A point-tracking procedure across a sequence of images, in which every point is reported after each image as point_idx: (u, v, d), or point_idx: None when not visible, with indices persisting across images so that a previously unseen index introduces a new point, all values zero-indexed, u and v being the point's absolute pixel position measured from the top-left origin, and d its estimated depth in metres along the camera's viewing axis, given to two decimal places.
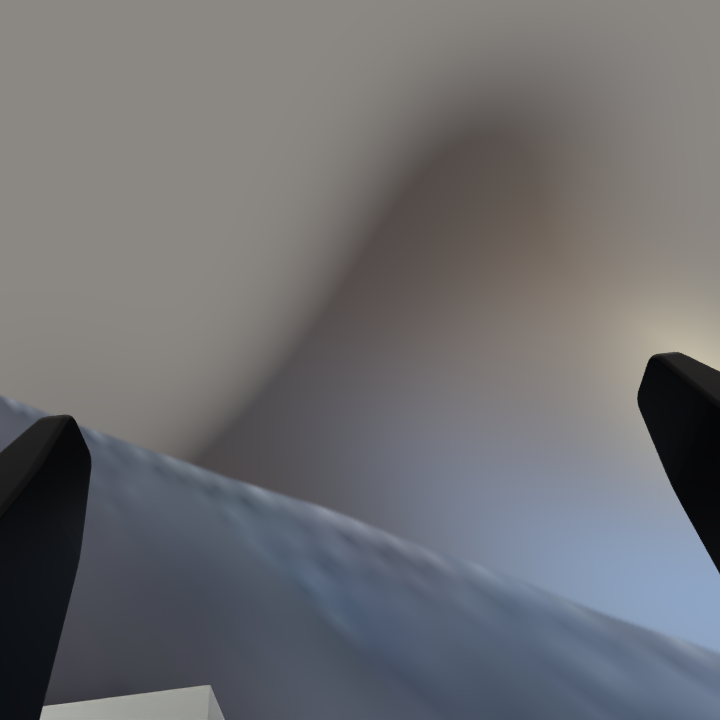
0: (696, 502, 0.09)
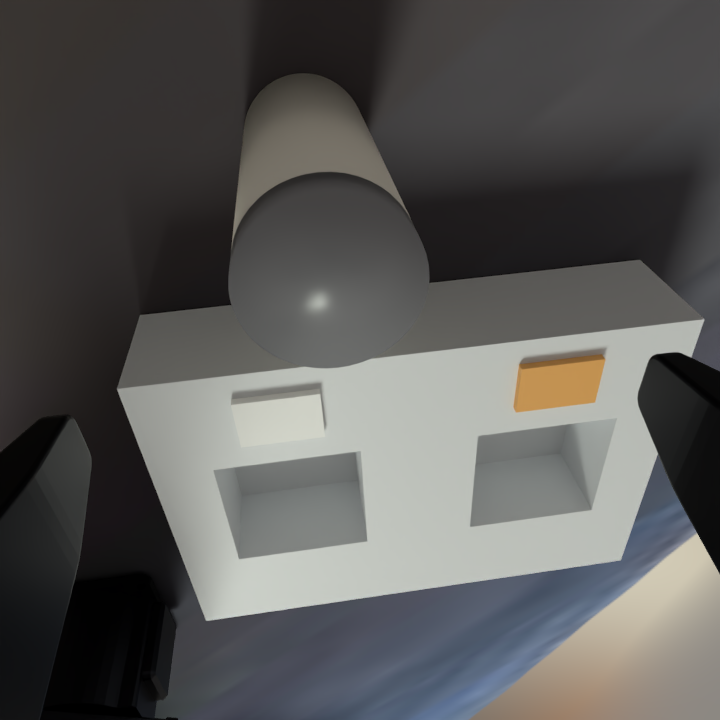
0: (696, 502, 0.09)
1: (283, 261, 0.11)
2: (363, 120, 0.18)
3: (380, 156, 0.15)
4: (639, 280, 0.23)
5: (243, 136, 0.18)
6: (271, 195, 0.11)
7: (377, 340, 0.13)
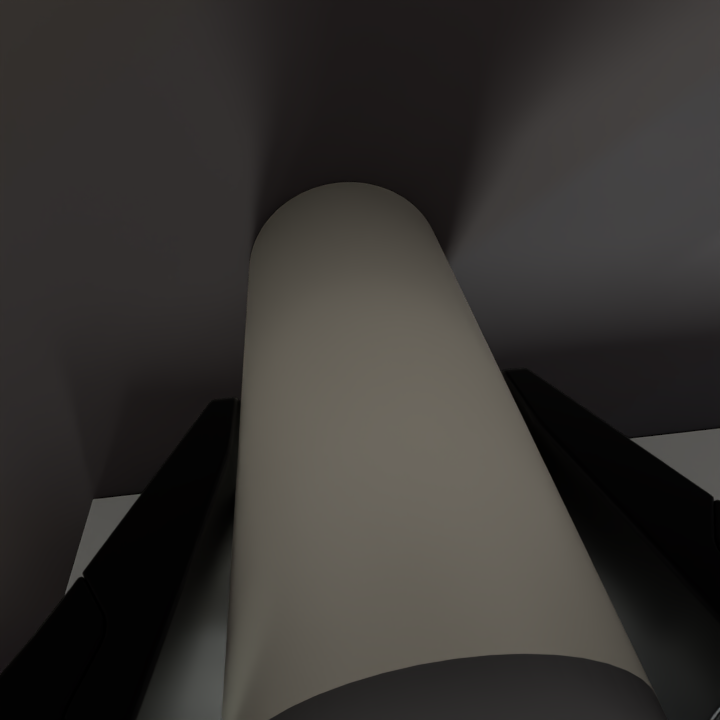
0: None
1: None
2: None
3: None
4: None
5: (249, 297, 0.11)
6: None
7: None
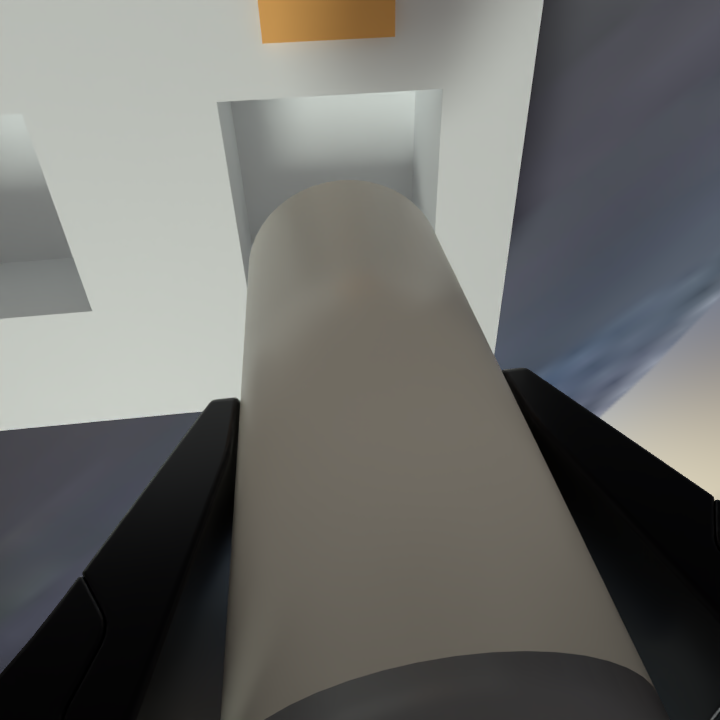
0: None
1: None
2: (455, 275, 0.10)
3: (516, 402, 0.08)
4: None
5: (248, 295, 0.11)
6: None
7: None
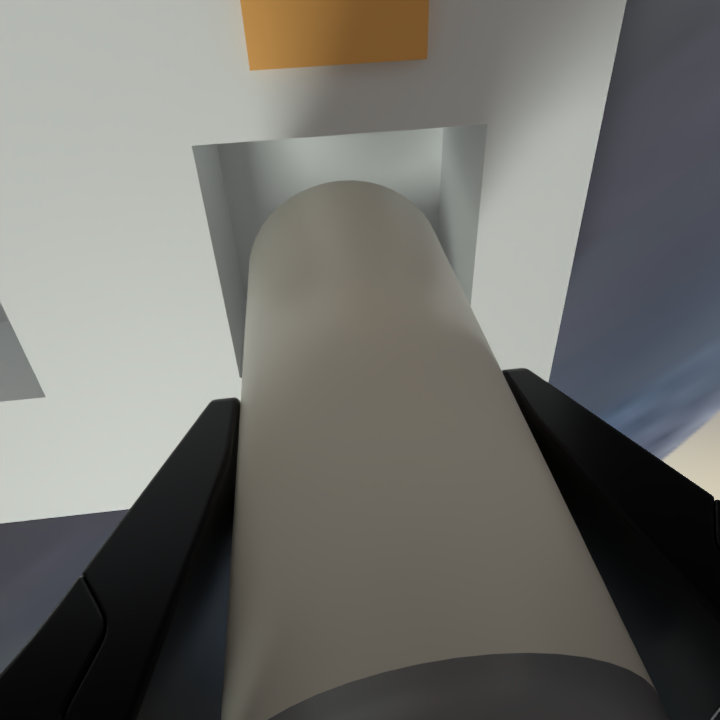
0: None
1: None
2: (455, 276, 0.10)
3: (516, 403, 0.08)
4: None
5: (249, 296, 0.11)
6: None
7: None
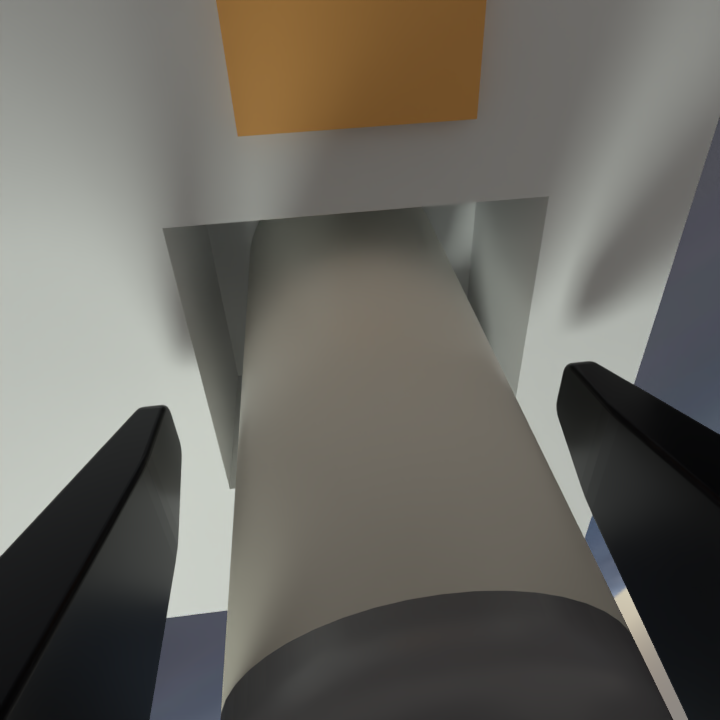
0: (604, 513, 0.09)
1: None
2: (449, 262, 0.11)
3: (506, 379, 0.08)
4: None
5: (250, 282, 0.11)
6: (327, 671, 0.04)
7: None
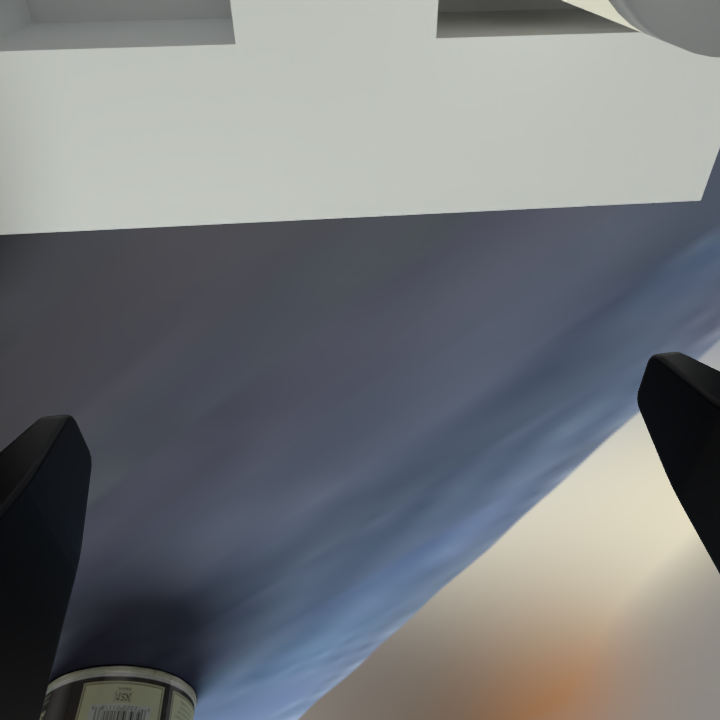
0: (696, 502, 0.09)
1: None
2: None
3: None
4: None
5: None
6: None
7: None
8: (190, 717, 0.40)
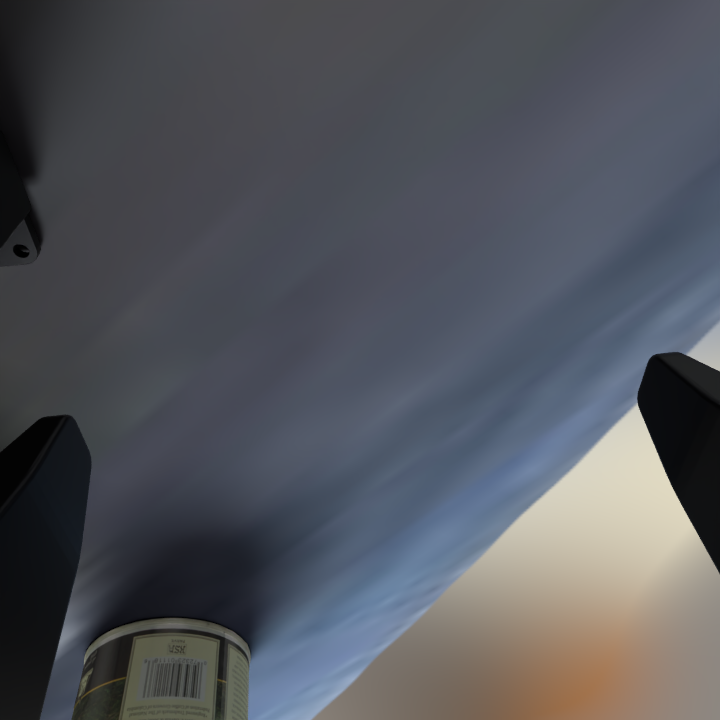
0: (696, 502, 0.09)
1: None
2: None
3: None
4: None
5: None
6: None
7: None
8: (246, 673, 0.37)
